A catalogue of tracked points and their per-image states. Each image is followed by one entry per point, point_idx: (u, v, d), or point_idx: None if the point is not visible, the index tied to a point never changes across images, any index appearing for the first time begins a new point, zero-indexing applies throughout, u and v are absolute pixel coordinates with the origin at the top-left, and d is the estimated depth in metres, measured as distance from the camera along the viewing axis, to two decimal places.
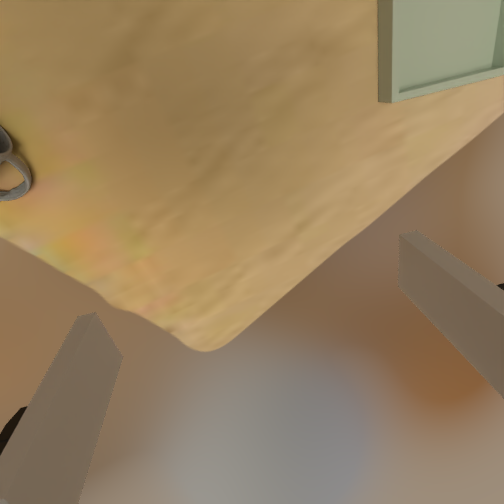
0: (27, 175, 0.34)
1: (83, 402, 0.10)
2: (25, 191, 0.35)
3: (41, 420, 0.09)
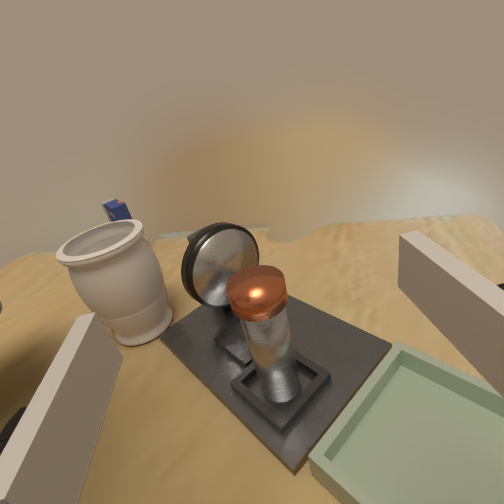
0: None
1: (83, 402, 0.10)
2: None
3: (41, 420, 0.09)
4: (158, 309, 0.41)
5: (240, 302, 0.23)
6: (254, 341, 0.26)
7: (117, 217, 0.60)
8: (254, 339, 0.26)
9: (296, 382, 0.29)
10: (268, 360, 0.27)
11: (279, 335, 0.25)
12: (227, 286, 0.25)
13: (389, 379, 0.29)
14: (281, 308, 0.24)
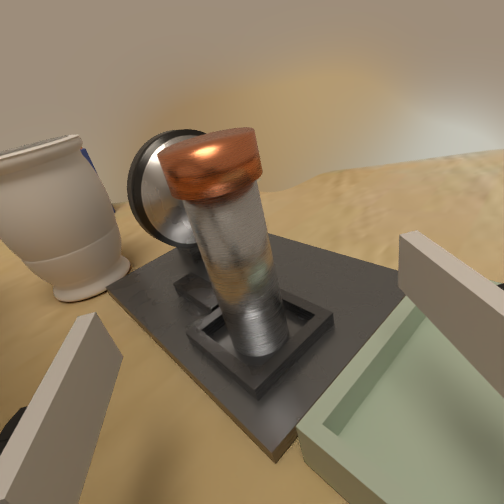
0: None
1: (83, 402, 0.10)
2: None
3: (41, 420, 0.09)
4: (105, 252, 0.31)
5: (174, 160, 0.13)
6: (209, 245, 0.16)
7: None
8: (207, 241, 0.16)
9: (281, 324, 0.19)
10: (234, 281, 0.17)
11: (249, 234, 0.16)
12: (161, 151, 0.15)
13: (422, 319, 0.19)
14: (249, 179, 0.14)
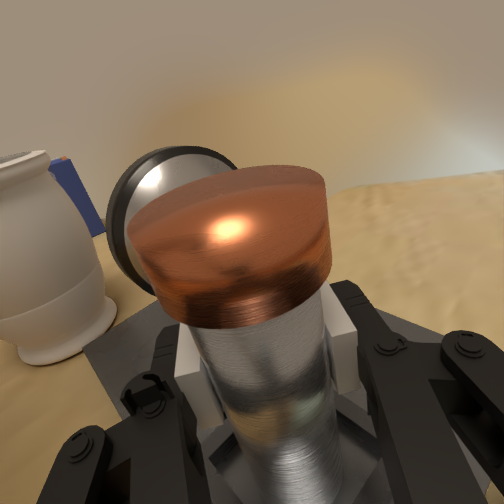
0: None
1: None
2: None
3: None
4: (81, 303, 0.24)
5: (159, 256, 0.06)
6: (229, 387, 0.08)
7: (58, 178, 0.43)
8: (226, 381, 0.08)
9: (338, 470, 0.12)
10: (270, 436, 0.09)
11: (304, 369, 0.08)
12: (138, 215, 0.08)
13: None
14: (317, 283, 0.07)
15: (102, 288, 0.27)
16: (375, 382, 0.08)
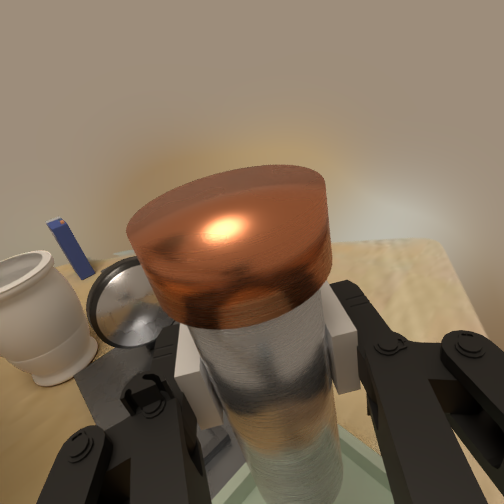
0: None
1: None
2: None
3: None
4: (72, 347, 0.38)
5: (159, 256, 0.06)
6: (229, 387, 0.08)
7: (58, 238, 0.57)
8: (226, 382, 0.08)
9: (338, 471, 0.12)
10: (270, 437, 0.09)
11: (304, 369, 0.08)
12: (137, 215, 0.08)
13: None
14: (316, 283, 0.07)
15: (87, 335, 0.41)
16: (375, 382, 0.08)
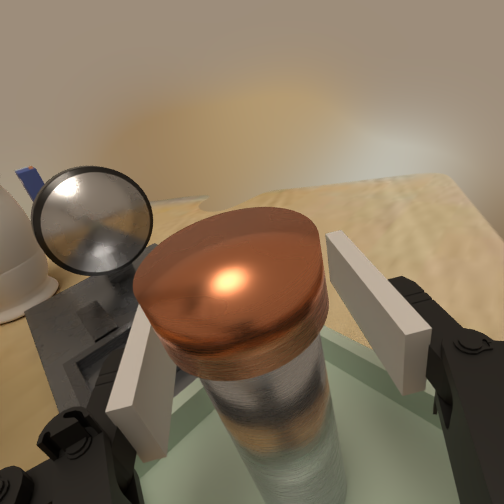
0: None
1: (164, 348, 0.12)
2: None
3: (143, 353, 0.10)
4: (23, 278, 0.33)
5: (164, 320, 0.06)
6: (234, 422, 0.09)
7: (26, 184, 0.52)
8: (231, 418, 0.09)
9: (341, 487, 0.13)
10: (275, 465, 0.10)
11: (305, 405, 0.09)
12: (142, 266, 0.08)
13: None
14: (313, 332, 0.07)
15: (43, 269, 0.35)
16: (453, 378, 0.07)
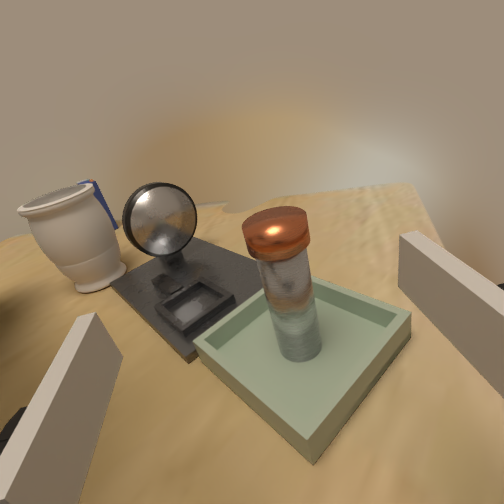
0: None
1: (83, 402, 0.10)
2: None
3: (41, 420, 0.09)
4: (109, 260, 0.48)
5: (258, 237, 0.21)
6: (274, 287, 0.23)
7: None
8: (273, 285, 0.23)
9: (318, 339, 0.27)
10: (289, 310, 0.24)
11: (301, 280, 0.23)
12: (243, 225, 0.23)
13: None
14: (304, 246, 0.22)
15: (119, 254, 0.50)
16: None
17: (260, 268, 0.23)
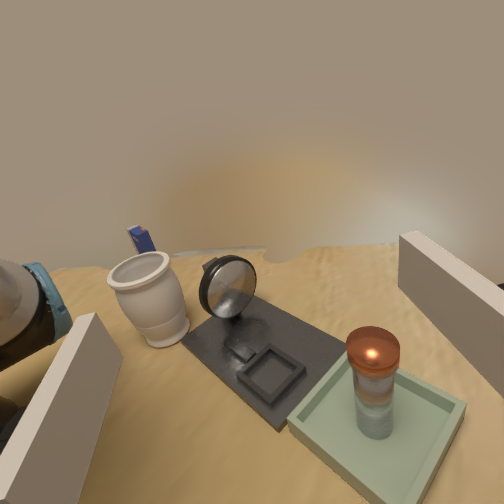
0: None
1: (83, 402, 0.10)
2: None
3: (41, 420, 0.09)
4: (180, 320, 0.54)
5: (367, 365, 0.28)
6: (369, 392, 0.30)
7: (141, 242, 0.74)
8: (368, 391, 0.30)
9: (392, 422, 0.34)
10: (377, 407, 0.31)
11: (390, 387, 0.30)
12: (348, 347, 0.30)
13: (345, 370, 0.42)
14: (397, 368, 0.29)
15: (185, 312, 0.57)
16: None
17: (358, 377, 0.30)
